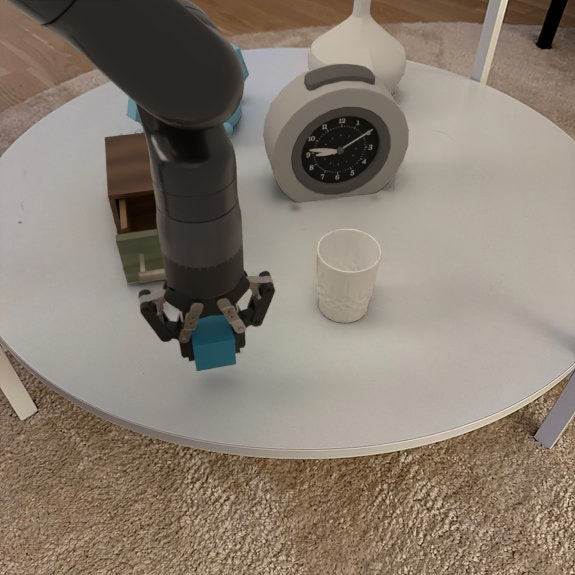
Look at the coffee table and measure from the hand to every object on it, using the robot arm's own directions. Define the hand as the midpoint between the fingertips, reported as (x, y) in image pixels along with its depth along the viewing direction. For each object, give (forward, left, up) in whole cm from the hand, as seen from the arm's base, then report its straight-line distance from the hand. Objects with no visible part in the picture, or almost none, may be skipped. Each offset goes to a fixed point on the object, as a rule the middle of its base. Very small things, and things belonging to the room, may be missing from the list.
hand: (213, 350), depth 67 cm
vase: (+36, +61, -6) cm, 71 cm away
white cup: (+18, +9, -6) cm, 21 cm away
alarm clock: (+24, +35, -6) cm, 43 cm away
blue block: (0, 0, 0) cm, 0 cm away
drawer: (-4, +22, -5) cm, 23 cm away
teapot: (+4, +59, -6) cm, 59 cm away
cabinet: (-4, +34, -6) cm, 34 cm away
